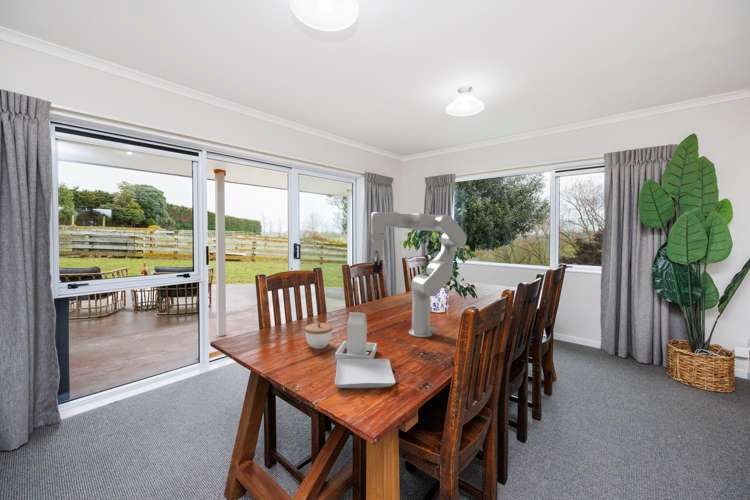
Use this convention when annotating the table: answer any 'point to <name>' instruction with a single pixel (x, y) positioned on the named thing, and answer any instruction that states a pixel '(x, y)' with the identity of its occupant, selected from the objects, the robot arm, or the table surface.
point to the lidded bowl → (318, 335)
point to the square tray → (340, 356)
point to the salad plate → (364, 373)
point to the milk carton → (356, 333)
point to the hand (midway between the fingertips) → (377, 271)
